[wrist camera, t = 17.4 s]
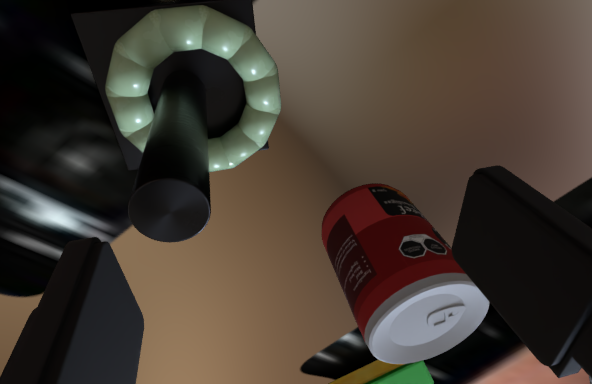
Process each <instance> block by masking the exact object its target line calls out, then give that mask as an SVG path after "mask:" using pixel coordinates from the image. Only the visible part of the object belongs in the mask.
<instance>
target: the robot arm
mask: <svg viewBox="0 0 592 384" xmlns="http://www.w3.org/2000/svg"><path fill="white" fill-rule="evenodd" d="M452 255H453V258H454V260H455V261H456V262H457V264H458V265H459V266H460V267H461V268H462V270H463V271H464V272H465V273H466V274H467V276H468V277H469V278H470V279H471V280H472V282H473V283H474V284H475V285H476V286H477V288H478V289H479V290H480V291H481V292H482V294H483V295H484V296H485V297H486V298H487V300H488V301H489V302H490V303H491V304H492V306H493V307H494V308H495V309H496V310H497V312H498V313H499V314H500V315H501V316H502V318H503V319H504V320H505V321H506V322H507V324H508V325H509V326H510V327H511V328H512V329H513V331H514V332H515V333H516V334H517V335H518V337H519V338H520V339H521V340H522V341H523V343H524V344H525V345H526V346H527V347H528V349H529V350H530V351H531V352H532V353H533V355H534V356H535V357H536V358H537V359H538V360H539V361H540V362H541V363H542V364H544V365H546V366H549V368H550V369H551V370H552V371H553V372H554V373H555V375H556V376H557V377H558V378H561V377H564V376H568V375H571V374H575V373H578V372H579V371H580V369H581V368H583V369H584V370H585V372H586V373H587V374H588V375H589V379H590V384H592V229H591V228H590V227H588V226H587V225H586V224H584V223H583V222H581V221H580V220H578V219H577V218H576V217H574V216H573V215H571V214H570V213H568V212H567V211H565V210H564V209H563V208H561V207H560V206H558V205H557V204H555V203H554V202H553V201H551V200H550V199H548V198H547V197H545V196H544V195H543V194H541V193H540V192H538V191H537V190H535V189H534V188H532V187H531V186H529V185H528V184H527V183H525V182H524V181H522V180H521V179H519V178H518V177H517V176H515V175H514V174H512V173H511V172H510V171H508V170H507V169H505V168H503V167H501V166H491V167H486V168H480V169H477V170H476V171H475V172H474V174H473V175H472V176H471V177H470V178H469V180H468V184H467V188H466V192H465V196H464V200H463V204H462V208H461V213H460V216H459V221H458V225H457V229H456V233H455V237H454V241H453V245H452ZM143 331H144V319H143V315H142V312H141V310H140V308H139V306H138V304H137V302H136V300H135V297H134V295H133V293H132V291H131V289H130V287H129V284H128V282H127V280H126V278H125V276H124V274H123V272H122V269H121V267H120V265H119V263H118V261H117V259H116V257H115V254H114V252H113V250H112V248H111V246H110V244H109V243H108V242H101V241H100V239H98V238H97V237H93V238H87V239H82V240H76V241H70V242H69V243H67V245H66V246H65V249H64V251H63V253H62V255H61V257H60V259H59V261H58V264H57V266H56V268H55V270H54V272H53V274H52V277H51V279H50V281H49V283H48V285H47V287H46V290H45V292H44V294H43V296H42V298H41V300H40V303H39V305H38V307H37V308H36V309H34V310H33V311H32V313H31V314H30V316H29V318H28V320H27V322H26V324H25V327H24V328H23V330H22V333H21V335H20V337H19V339H18V341H17V343H16V345H15V347H14V349H13V351H12V354H11V356H10V358H9V360H8V362H7V364H6V366H5V368H4V370H3V372H2V375H1V377H0V384H136V377H137V371H138V364H139V358H140V350H141V345H142V338H143Z"/></svg>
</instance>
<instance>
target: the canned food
mask: <svg viewBox="0 0 592 384" xmlns="http://www.w3.org/2000/svg"><path fill="white" fill-rule="evenodd" d="M322 240H323V244H324V246H325V249H326V251H327V253H328V256H329V258H330V261H331V263H332V265H333V268H334V270H335V272H336V275H337V277H338V280H339V282H340V284H341V287H342V289H343V291H344V294H345V296H346V299H347V300H348V303H349V306H350V308H351V310H352V313H353V315H354V317H355V320H356V322H357V325H358V327H359V329H360V331H361V333H362V336H363V338H364V340H365V343H366V344H367V346H368V347H369V349H370V351H371V353H372V354H373V356H374V357H376V358H377V359H378V360H381V361H383V362H386V363H392V364H406V363H414V362H418V361H422V360H426V359H429V358H431V357H434V356H437V355H439V354H441V353H443V352H445V351H447V350H449V349H451V348H452V347H454V346H456V345H457V344H459V343H460V342H461V341H463V340H464V339H465V338H466V337H468V336H469V335H470V334H471V333H472V332H473V331H474V330H475V329H476V328H477V327H478V326H479V325H480V323H481V322H482V320H483V319H484V317H485V315H486V313H487V311H488V308H489V301H488V300H487V298H486V297H485V296H484V295H483V294H482V292H481V291H480V290H479V289H478V288H477V286H476V285H475V284H474V283H473V282H472V280H471V279H470V278H469V277H468V276H467V274H466V273H465V272H464V271H463V270H462V268H461V267H460V266H459V265H458V264H457V262H456V261H455V260H454V258H453V255H452V248H451V247H450V246H449V245H448V244H447V243H446V241H445V240H444V239H443V238H442V237H441V236H440V234H439V233H438V232H437V231H436V230H435V229H434V228H433V227H432V225H431V224H430V223H429V222H428V221H427V219H426V218H425V217H424V216H423V215H422V214H421V213H420V211H419V210H418V209H417V208H416V207H415V206H414V205H413V203H412V202H411V201H410V200H409V199H408V198H407V197H406V195H404V194H403V193H402V192H401V191H399V190H397V189H395V188H392V187H390V186H388V185H384V184H366V185H362V186H359V187H356V188H353V189H351V190H350V191H347V192H346V193H344V194H343V195H341V196H340V197H339V198H337V199H336V200H335V201H334V202H333V203H332V205H331V206H330V208H329V209H328V210H327V212H326V214H325V216H324V218H323V222H322Z"/></svg>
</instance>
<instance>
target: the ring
mask: <svg viewBox="0 0 592 384" xmlns="http://www.w3.org/2000/svg"><path fill="white" fill-rule="evenodd" d="M195 49H203V50H206V51H208V52H210V53H213V54H215V55H217V56H220V57H222V58H225V59H227V60H228V61H229V63H230V64H231V65H232V66H233V68H234V69H235V70H236V72H237V73H238V74H239V75H240V77H241V78H242V79H243V82H244V89H245V96H246V102H247V103H246V106H245V108H244V111H243V113H242V116H241V118H240V120H239V123H238V124H237V125H236V126H234V127H233V128H232V129H230V130H229V131H228V132H226V133H225V134H224V135H222V136H221V137H218V138H211V139H208V157H209V172H212V171H218V170H224V169H230V168H234V167H236V166H237V165H238V164H240V163H241V162H243V161H244V160H245V159H247V158H248V157H249V156H251V155H252V154H254V153H255V152H256V151H258V150H259V149H260V148H262V147H263V146H264V145H265V143H266V142H267V140H268V137H269V135H270V133H271V131H272V128H273V126H274V124H275V122H276V120H277V118H278V115H279V113H280V110H281V99H280V88H279V77H278V69H277V66H276V63H275V62H274V60H273V59H272V57H271V56H270V55H269V53H268V52H267V50H266V49H265V47H264V46H263V45H262V43H261V42H260V40H259V39H258V37H257V36H256V35H255V33H254V32H253V30H252V29H251V28H250V27H249V26H247V25H245V24H243V23H241V22H239V21H237V20H235V19H233V18H231V17H229V16H227V15H225V14H223V13H220V12H218V11H216V10H214V9H212V8H210V7H207V6H204V5H194V6H184V7H174V8H165V9H157V10H153V11H151V12H150V13H148V14H147V15H146V16H145V17H143V18H142V19H141V20H140V21H139V22H138V23H137V24H135V25H134V26H133V27H132V28H131V29H130V30H128V31H127V32H126V33H125V34H124V35H123V36H122V37H120V38H119V39H118V40H117V42H116V43H115V45H114V49H113V53H112V57H111V62H110V66H109V71H108V75H107V80H106V84H105V91H106V95H107V98H108V100H109V103H110V106H111V108H112V111H113V114H114V116H115V119H116V122H117V124H118V127H119V129H120V132H121V133H122V134H123V136H124V137H126V138H127V139H128V140H129V141H130V142H131V143H132V144H134V145H135V146H136V147H137V148H138V149H139V150H140V151H142V152H144V148H145V145H146V142H147V138H148V135H149V131H150V128H151V124H152V121H153V117H154V112H153V108H152V105H151V102H150V99H149V95H148V89H149V85H150V81H151V78H152V74H153V71H154V68H155V67H157V66H158V65H159V64H160V63H161V62H163V61H164V60H165V59H166V58H167V57H169V56H170V55H171V54H172V53H173V52H178V51H186V50H195Z"/></svg>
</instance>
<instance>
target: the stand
mask: <svg viewBox="0 0 592 384" xmlns="http://www.w3.org/2000/svg"><path fill="white" fill-rule="evenodd" d="M194 5H204V6H207V7H210V8H212V9H214V10H216V11H218V12H220V13H223V14H225V15H227V16H229V17H231V18H233V19H235V20H237V21H239V22H241V23H243V24H245V25H247V26H249V27H250V28H251V29H252V30H253V32H254V33H255V35H256V31H255V23H254V14H253V5H252V0H188V1H177V2H166V3H155V4H143V5H132V6H121V7H110V8H99V9H87V10H77V11H75V12H73V13H71V17H72V20H73V23H74V25H75V28H76V31H77V33H78V36H79V39H80V41H81V44H82V47H83V50H84V52H85V55H86V58H87V60H88V63H89V66H90V68H91V71H92V74H93V77H94V79H95V82H96V85H97V87H98V90H99V93H100V95H101V98H102V101H103V104H104V106H105V109H106V112H107V114H108V117H109V120H110V122H111V125H112V128H113V130H114V133H115V136H116V139H117V141H118V144H119V147H120V149H121V152H122V155H123V157H124V160H125V163H126V166H127V168H128V170H136V169H138V173H137V176H136V180H135V183H134V186H133V190H132V193H131V197H130V200H129V204H128V214H129V218H130V220H131V222H132V224H133V225H134V227H135V228H136V229H137V230H138V231H139V232H140V233H142V234H143V235H145V236H147V237H149V238H151V239H154V240H157V241H162V242H179V241H184V240H187V239H189V238H192V237H193V236H195V235H197V234H198V233H199V232H201V231H202V230H203V229H204V227H205V226H206V225H207V223H208V221H209V218H210V213H211V205H210V184H209V183H210V181H209V157H208V139H211V138H218V137H221V136H222V135H224V134H225V133H226V132H228V131H229V130H230V129H232V128H233V127H234V126H236V125H237V124H238V123H239V120H240V118H241V116H242V113H243V111H244V108H245V106H246V103H247V102H246V96H245V89H244V82H243V79H242V78H241V77H240V75H239V74H238V73H237V72H236V70H235V69H234V68H233V66H232V65H231V64H230V63H229V61H228V60H227V59H225V58H222V57H220V56H217V55H215V54H213V53H210V52H208V51H206V50H203V49H195V50H186V51H178V52H173V53H172V54H171V55H170V56H169V57H167V58H166V59H165V60H164V61H163V62H161V63H160V64H159V65H158V66H157V67H155V68H154V71H153V74H152V78H151V81H150V85H149V89H148V95H149V99H150V102H151V105H152V108H153V112H154V117H153V121H152V124H151V128H150V131H149V135H148V138H147V142H146V145H145V148H144V152H142V151H140V150H139V149H138V148H137V147H136V146H135V145H134V144H132V143H131V142H130V141H129V140H128V139H127V138H126V137H124V136H123V134H122V133H121V132H120V129H119V127H118V124H117V122H116V119H115V116H114V114H113V111H112V108H111V106H110V103H109V100H108V98H107V95H106V91H105V84H106V80H107V75H108V71H109V66H110V62H111V57H112V53H113V49H114V45H115V43H116V42H117V40H118V39H119V38H120V37H122V36H123V35H124V34H125V33H126V32H127V31H128V30H130V29H131V28H132V27H133V26H134V25H135V24H137V23H138V22H139V21H140V20H141V19H142V18H143V17H145V16H146V15H147V14H148V13H150V12H151V11H153V10H157V9H165V8H174V7H184V6H194ZM268 148H269V146H268V140H267V142H266V143H265V145H264V146H263V147H262V148H260V149H259V150H266V149H268ZM259 150H258V151H259Z"/></svg>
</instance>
